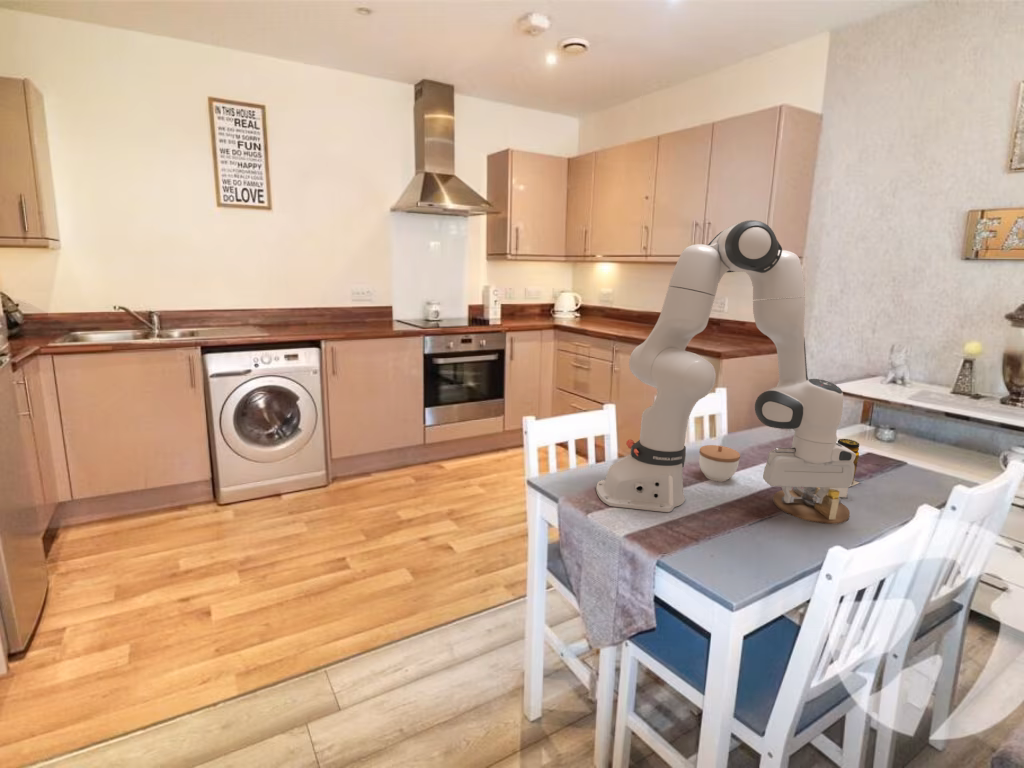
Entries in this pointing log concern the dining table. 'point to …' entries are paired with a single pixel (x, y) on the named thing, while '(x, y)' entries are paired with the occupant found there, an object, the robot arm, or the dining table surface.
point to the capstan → (828, 502)
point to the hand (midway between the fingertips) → (802, 502)
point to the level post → (842, 491)
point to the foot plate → (809, 510)
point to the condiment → (853, 447)
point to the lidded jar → (718, 462)
